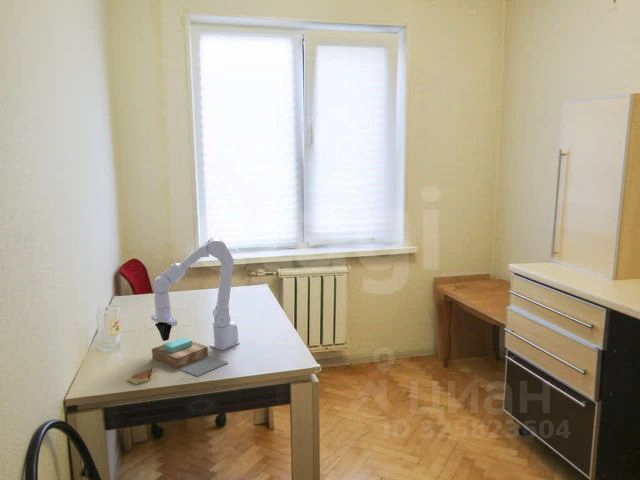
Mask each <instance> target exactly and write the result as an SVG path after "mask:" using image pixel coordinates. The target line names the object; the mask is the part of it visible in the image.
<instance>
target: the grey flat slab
mask: <svg viewBox="0 0 640 480" xmlns="http://www.w3.org/2000/svg"><path fill="white" fill-rule="evenodd" d="M227 364H229V362H227V361H225V360H222V359H219V358H216V357H214V356H210V355H208V356H207V357H205V358H202V359H200V360H197V361H195V362H192V363H190V364H187V365H185V366H183V367H180V368H178V369H177V370H180V371H182V372H185V373H187V374H189V375H192V376H194V377H198V378H199V377H200V376H202V375H205V374H207V373H210V372H212V371H214V370H216V369H218V368H219V369H220V367H223V366H225V365H227Z"/></svg>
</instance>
